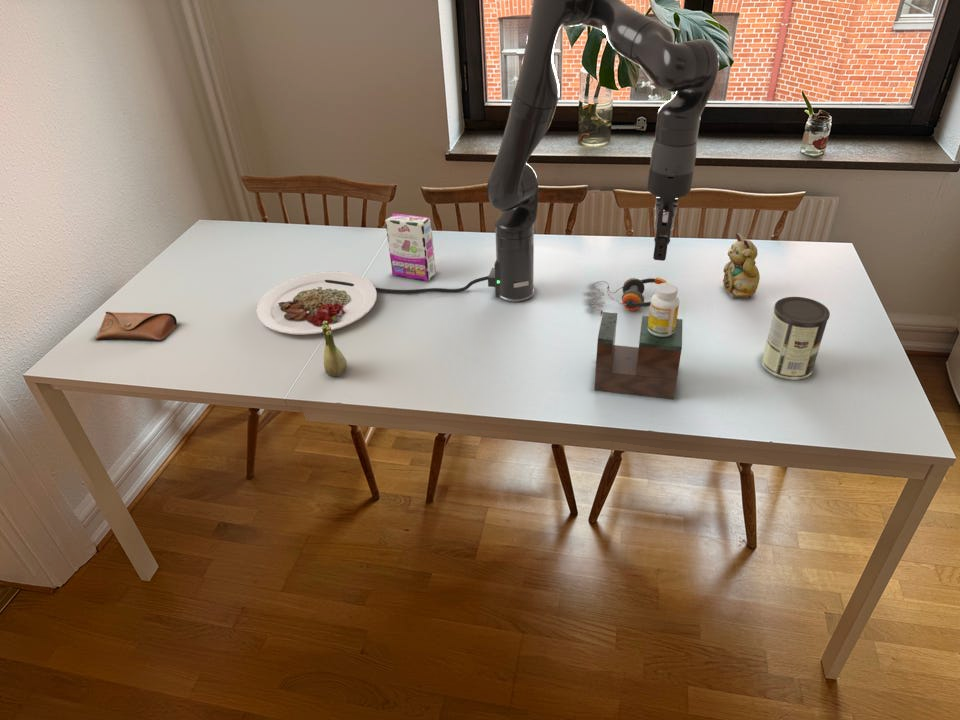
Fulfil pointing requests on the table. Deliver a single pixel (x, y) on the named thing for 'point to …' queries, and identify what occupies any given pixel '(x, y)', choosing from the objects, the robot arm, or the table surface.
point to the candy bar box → (411, 246)
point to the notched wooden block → (637, 361)
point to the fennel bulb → (332, 354)
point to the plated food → (316, 303)
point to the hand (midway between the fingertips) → (660, 248)
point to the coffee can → (794, 337)
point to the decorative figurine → (741, 269)
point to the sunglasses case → (136, 326)
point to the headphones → (629, 293)
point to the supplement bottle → (663, 310)
